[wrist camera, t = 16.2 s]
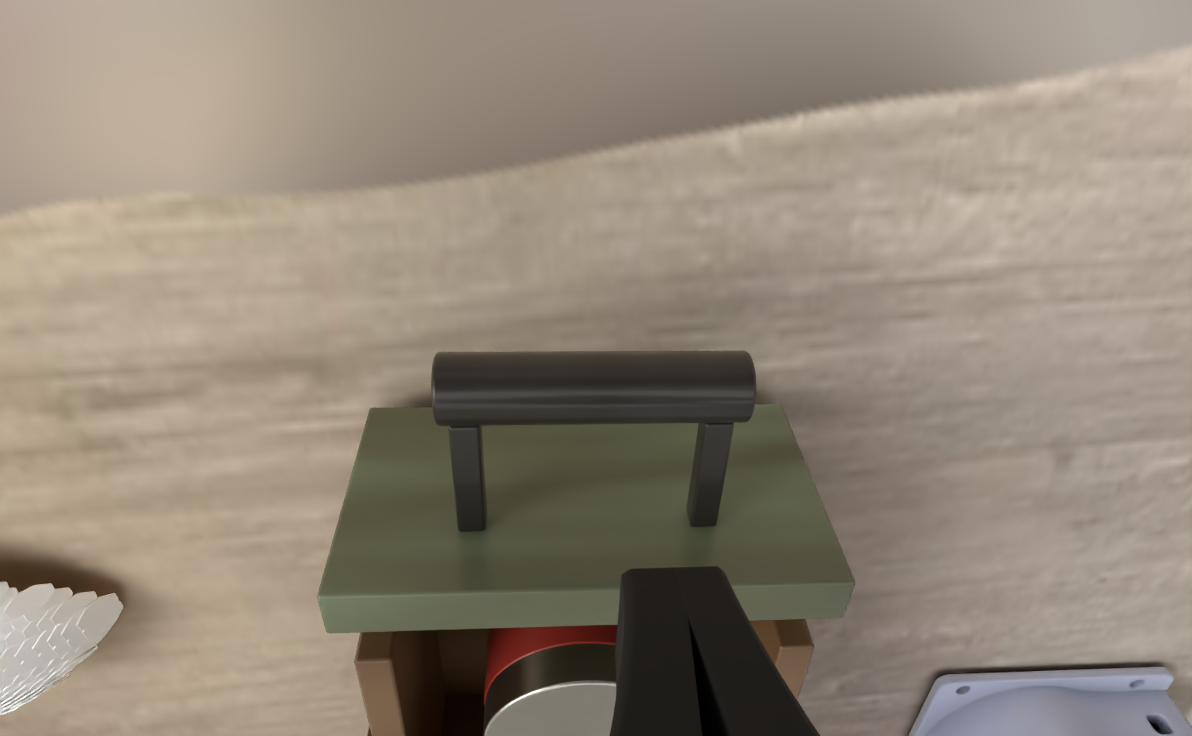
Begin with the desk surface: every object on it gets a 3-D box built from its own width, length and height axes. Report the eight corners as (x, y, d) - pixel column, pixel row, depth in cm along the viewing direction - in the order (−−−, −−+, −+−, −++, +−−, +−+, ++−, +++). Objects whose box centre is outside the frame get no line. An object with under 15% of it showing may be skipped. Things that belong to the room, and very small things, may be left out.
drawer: (344, 255, 18) (270, 424, 13) (813, 257, 18) (914, 417, 13) (414, 684, 27) (388, 876, 22) (722, 673, 28) (762, 856, 23)
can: (664, 516, 22) (693, 678, 18) (650, 626, 24) (673, 788, 20) (488, 519, 21) (476, 685, 17) (494, 630, 24) (485, 796, 20)
